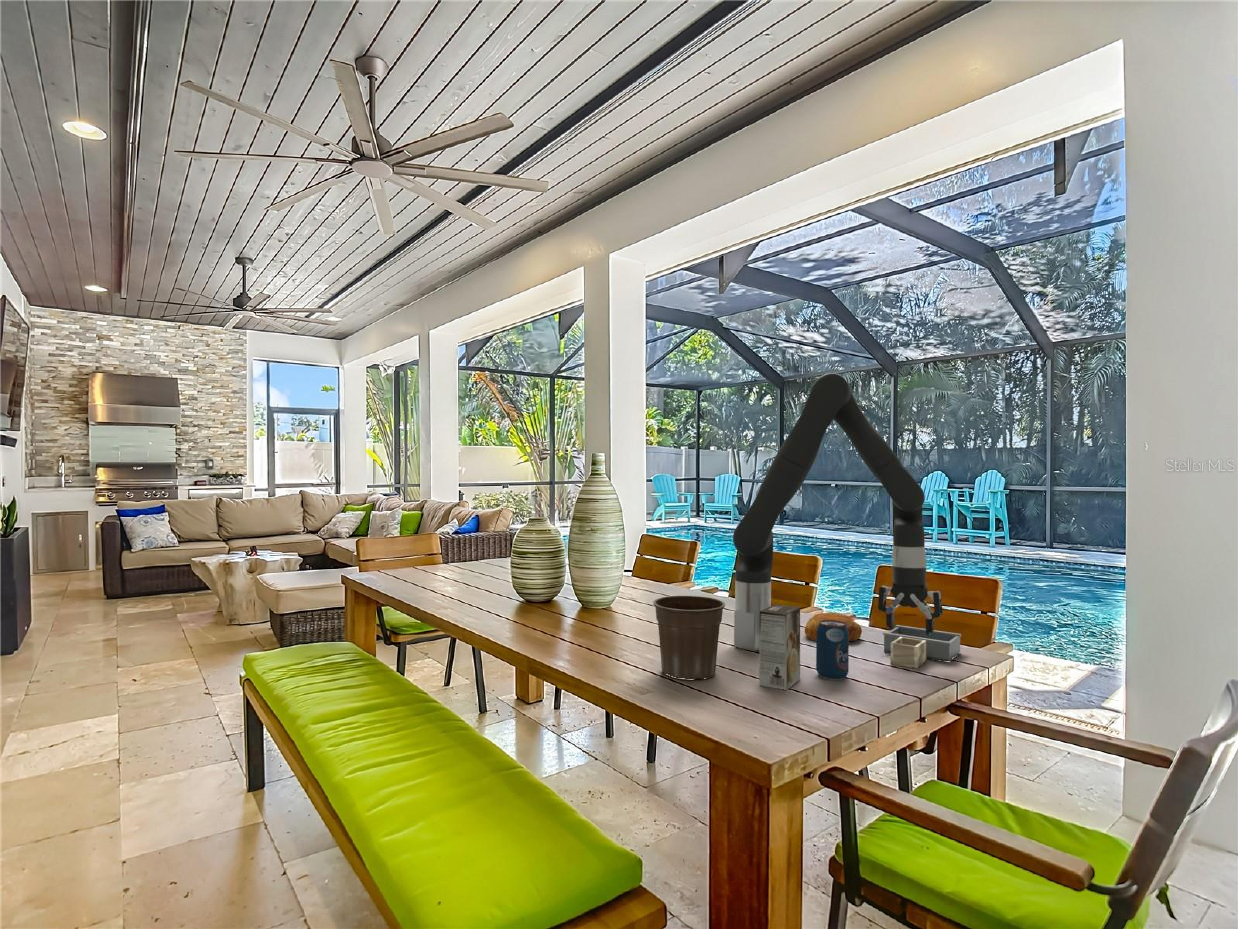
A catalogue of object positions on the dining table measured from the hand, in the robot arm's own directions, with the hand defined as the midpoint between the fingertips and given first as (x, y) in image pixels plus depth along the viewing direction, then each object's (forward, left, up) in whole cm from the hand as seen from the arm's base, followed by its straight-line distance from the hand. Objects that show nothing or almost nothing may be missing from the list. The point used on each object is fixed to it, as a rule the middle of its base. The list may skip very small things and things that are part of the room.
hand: (910, 631), depth 163 cm
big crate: (+12, 0, -7) cm, 14 cm away
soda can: (-23, +10, -8) cm, 26 cm away
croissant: (+13, +24, -8) cm, 29 cm away
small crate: (0, 0, -8) cm, 7 cm away
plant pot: (-42, +36, -8) cm, 56 cm away
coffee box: (-35, +17, -8) cm, 40 cm away
